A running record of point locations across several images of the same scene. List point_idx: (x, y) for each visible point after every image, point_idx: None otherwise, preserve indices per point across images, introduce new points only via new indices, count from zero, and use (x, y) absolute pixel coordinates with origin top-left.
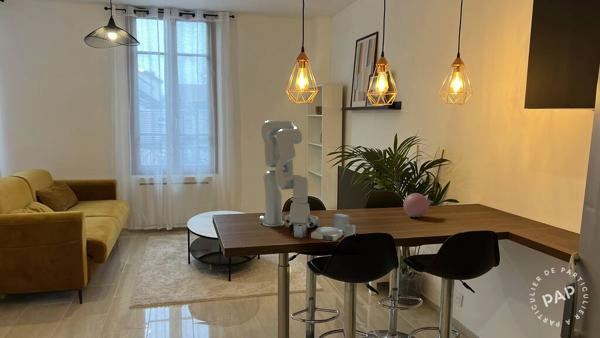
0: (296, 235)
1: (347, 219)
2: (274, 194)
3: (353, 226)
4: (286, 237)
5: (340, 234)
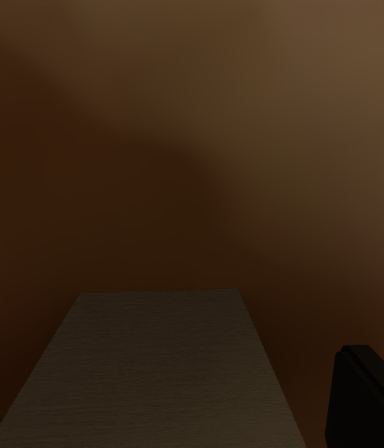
0: (196, 306)
1: None
2: None
3: None
4: (357, 198)
5: None
